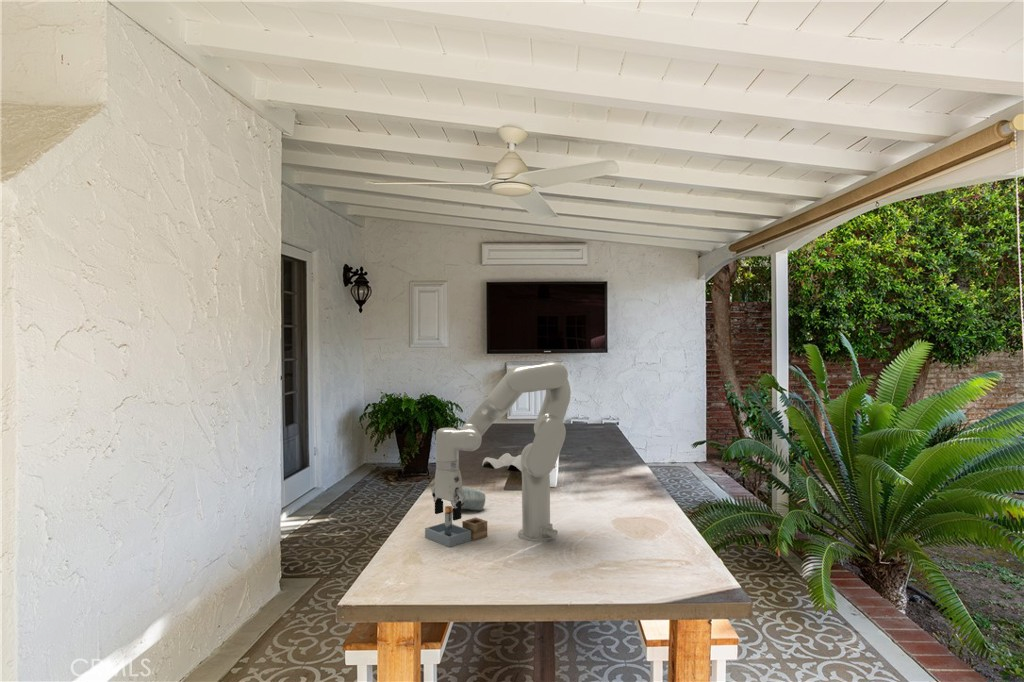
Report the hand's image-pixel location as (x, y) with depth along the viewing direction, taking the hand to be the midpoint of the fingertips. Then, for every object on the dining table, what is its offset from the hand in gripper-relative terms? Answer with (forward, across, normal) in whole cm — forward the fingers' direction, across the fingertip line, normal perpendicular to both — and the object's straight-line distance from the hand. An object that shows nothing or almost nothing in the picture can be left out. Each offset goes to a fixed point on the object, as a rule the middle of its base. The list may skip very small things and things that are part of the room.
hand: (447, 516), depth 189 cm
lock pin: (+7, 0, 0) cm, 7 cm away
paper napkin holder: (+8, +57, -83) cm, 101 cm away
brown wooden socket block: (+7, -4, -8) cm, 12 cm away
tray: (+7, 0, 0) cm, 7 cm away
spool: (+8, +21, -23) cm, 32 cm away
